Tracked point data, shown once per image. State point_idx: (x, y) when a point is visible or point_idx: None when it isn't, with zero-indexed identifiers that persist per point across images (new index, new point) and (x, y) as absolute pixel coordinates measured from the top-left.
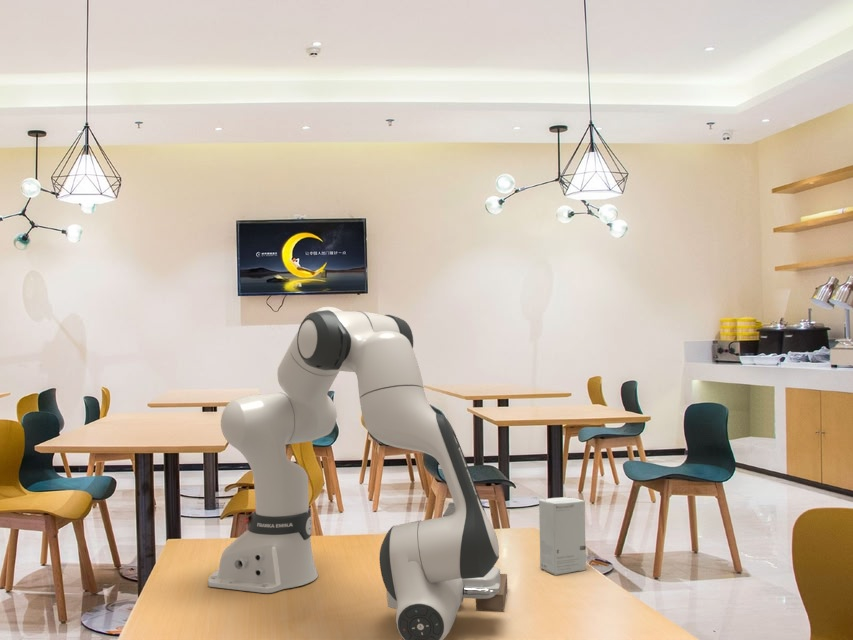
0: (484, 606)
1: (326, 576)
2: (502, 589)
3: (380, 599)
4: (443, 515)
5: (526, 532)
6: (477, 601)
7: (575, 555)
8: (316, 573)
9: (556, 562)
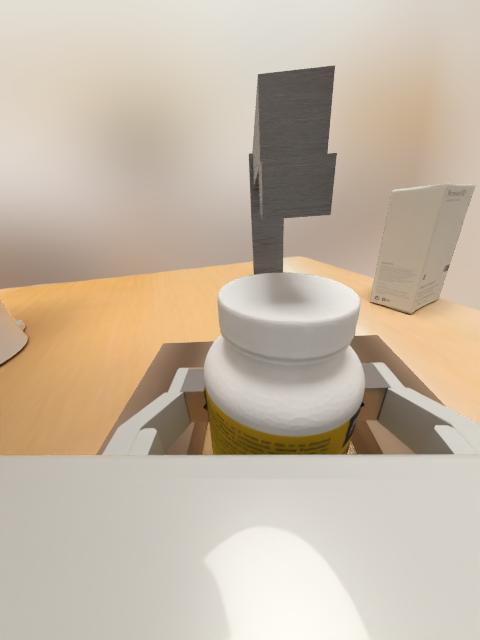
0: None
1: (37, 349)
2: None
3: (85, 441)
4: (263, 76)
5: (301, 259)
6: None
7: (436, 280)
8: (10, 350)
9: (418, 294)
